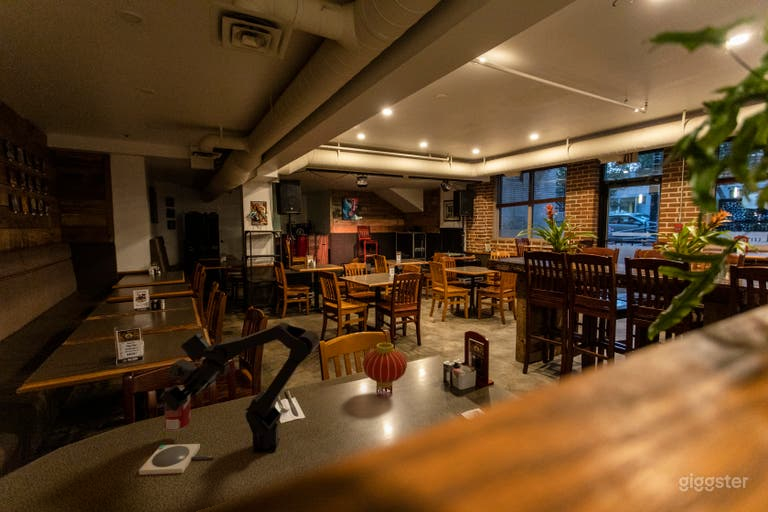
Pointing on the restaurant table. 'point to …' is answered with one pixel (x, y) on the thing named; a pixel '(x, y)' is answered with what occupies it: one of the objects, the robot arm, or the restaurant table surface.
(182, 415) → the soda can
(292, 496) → the restaurant table surface
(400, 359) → the lantern
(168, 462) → the charging dock
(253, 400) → the robot arm
